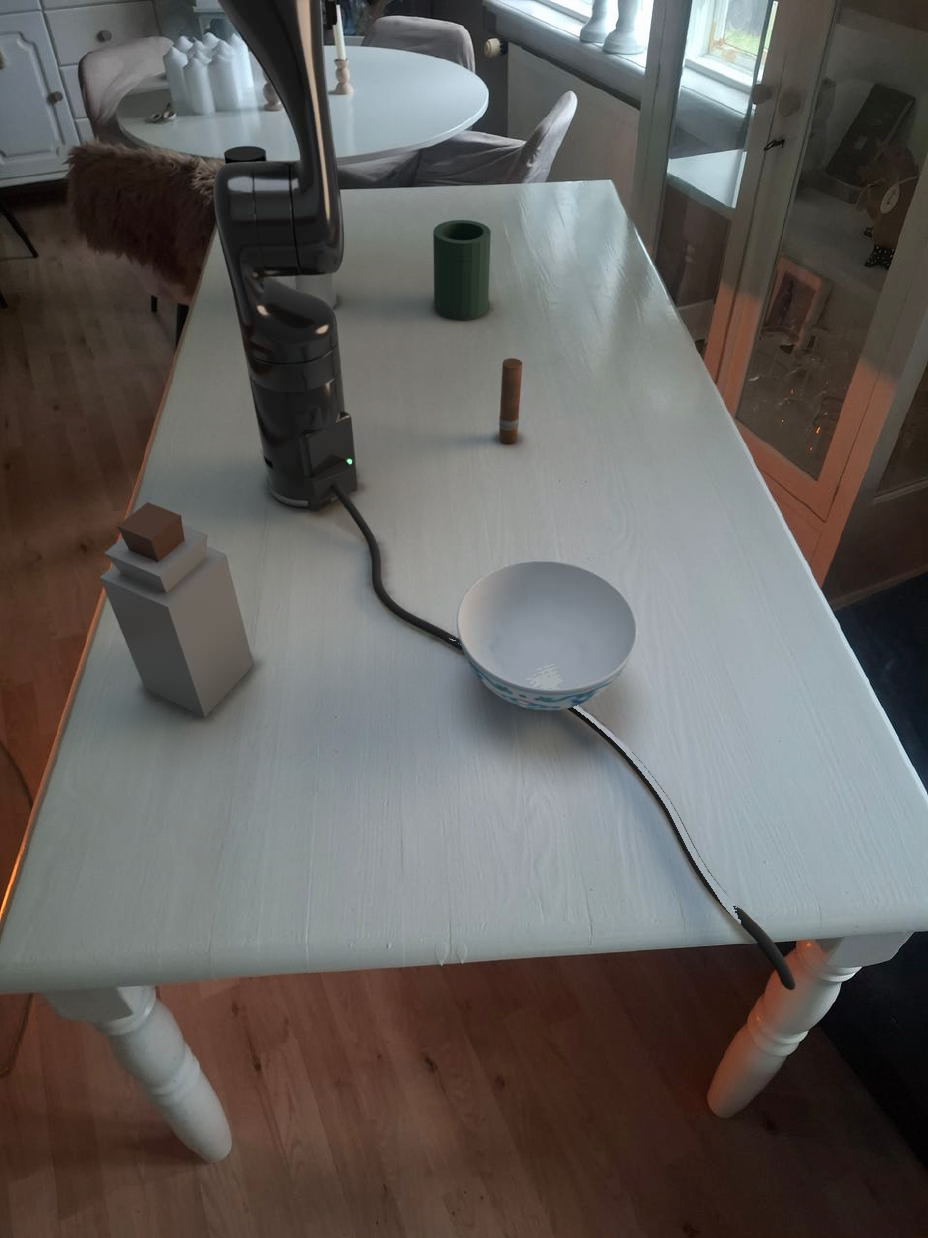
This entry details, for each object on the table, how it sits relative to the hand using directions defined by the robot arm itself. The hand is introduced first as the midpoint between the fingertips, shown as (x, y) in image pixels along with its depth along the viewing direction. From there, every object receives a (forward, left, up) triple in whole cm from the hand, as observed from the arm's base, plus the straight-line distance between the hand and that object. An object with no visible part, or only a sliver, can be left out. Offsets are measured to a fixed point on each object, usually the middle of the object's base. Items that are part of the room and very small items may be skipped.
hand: (297, 26), depth 113 cm
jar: (-25, -5, -31) cm, 41 cm away
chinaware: (-79, +41, -32) cm, 95 cm away
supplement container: (+22, -3, -32) cm, 38 cm away
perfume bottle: (-57, +62, -32) cm, 90 cm away
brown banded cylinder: (-52, +15, -31) cm, 63 cm away
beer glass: (-9, +9, -32) cm, 34 cm away
